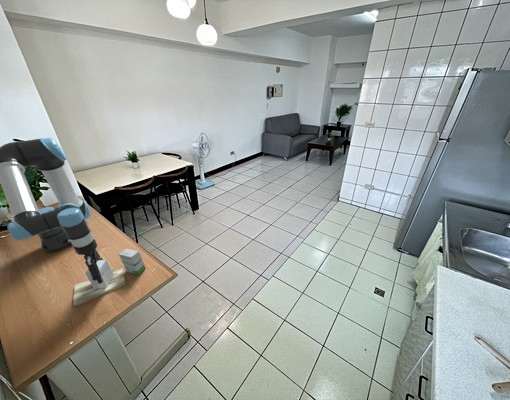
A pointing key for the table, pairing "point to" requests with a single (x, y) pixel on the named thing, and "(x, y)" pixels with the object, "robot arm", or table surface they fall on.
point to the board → (87, 292)
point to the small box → (104, 271)
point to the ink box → (132, 261)
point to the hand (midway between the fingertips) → (103, 279)
